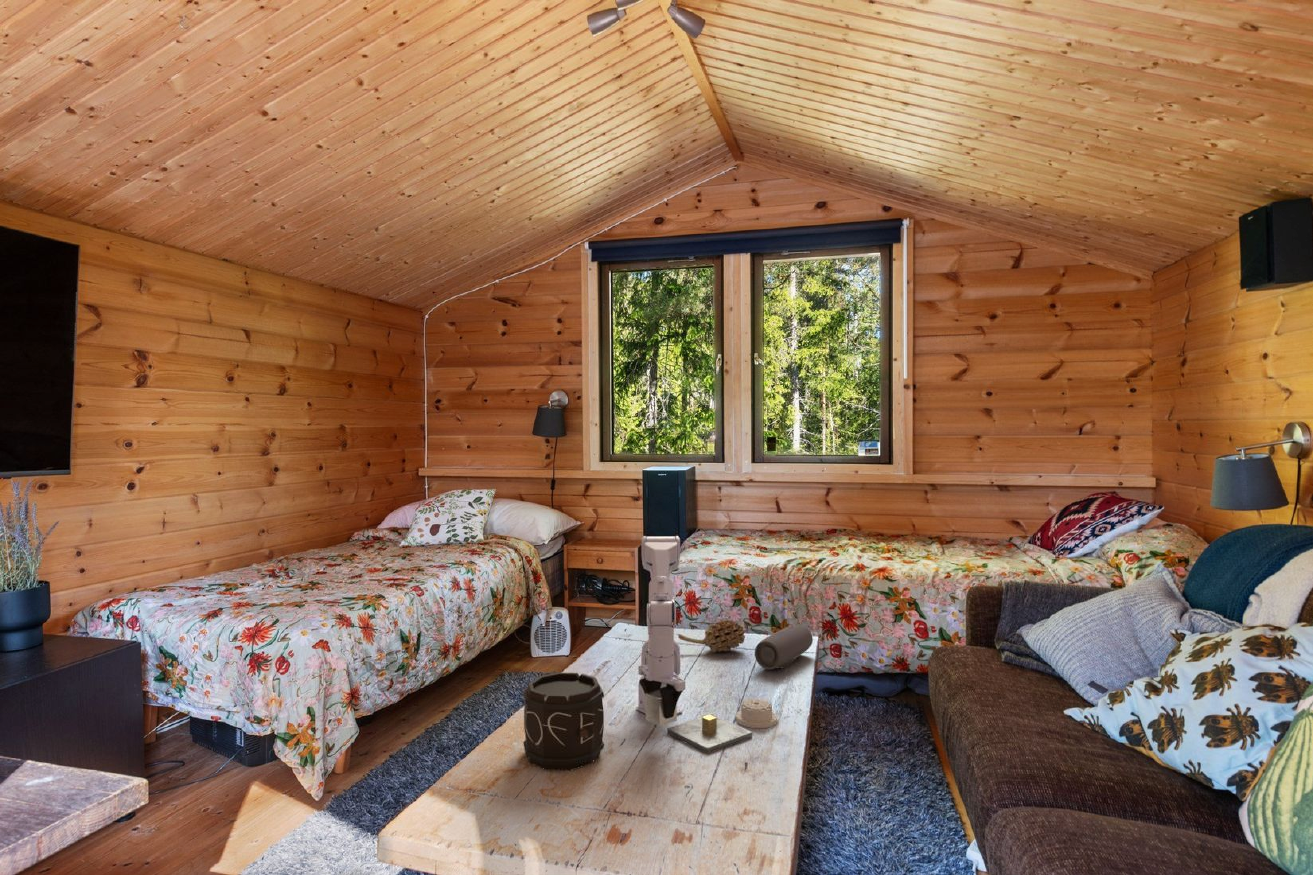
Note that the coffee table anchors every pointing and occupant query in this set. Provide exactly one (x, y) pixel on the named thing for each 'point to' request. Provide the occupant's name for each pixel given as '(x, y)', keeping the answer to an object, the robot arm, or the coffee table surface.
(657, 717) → the collar
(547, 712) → the wooden barrel
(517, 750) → the coffee table surface
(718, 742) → the post plate
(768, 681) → the coffee table surface
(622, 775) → the coffee table surface
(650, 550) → the robot arm
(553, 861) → the coffee table surface
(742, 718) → the mechanical component
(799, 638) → the bluetooth speaker
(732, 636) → the pine cone
